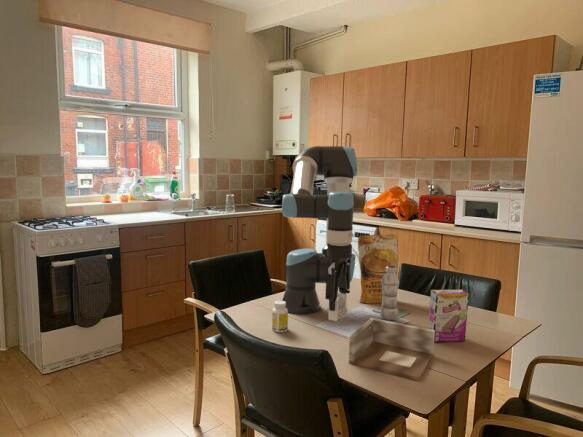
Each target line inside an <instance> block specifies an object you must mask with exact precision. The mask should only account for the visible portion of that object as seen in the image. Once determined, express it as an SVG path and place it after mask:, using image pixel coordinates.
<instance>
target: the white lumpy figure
mask: <svg viewBox="0 0 583 437" xmlns="http://www.w3.org/2000/svg"><path fill="white" fill-rule="evenodd" d="M337 300H338V319H342V318H345V317H346V316H347V313H348V307H347V306H346V307H345V306H344V303H345V301H344V300H343V298H342V297H341V294H339V295H338V294H337ZM327 311H328V315H329V306H328V307H327ZM328 315H327V316H328Z"/></svg>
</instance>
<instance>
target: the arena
mask: <svg viewBox="0 0 583 437" xmlns="http://www.w3.org/2000/svg"><path fill="white" fill-rule="evenodd" d="M434 338H435V330H431V329H428V328H424V327H420V326H415V325H409V324H404V323H400V322H395V321H389V320H384V319H379V318H374V317H370V318H369V319H368V320H367V321H365V323H363V324H362V325H361V326H360V327H358V329H356V330H355V331H354V332H353V333H351V335H350V336H349V342H348V345H349V347H348V364H351V365H355V366H359V367H362V368H367V369H370V370H375V371H378V372H382V373H387V374H390V375H394V376H398V377H402V378H405V379H410V380H413V381H417V382H419V381H420V380H421V378H422V376H423V375H424V373H425V371H426V370H427V369H428V366H429V364H430V363H431V360H432V359H433V358H434V355H435V354H434V351H435V342H434Z"/></svg>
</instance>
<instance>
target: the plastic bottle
mask: <svg viewBox="0 0 583 437" xmlns="http://www.w3.org/2000/svg"><path fill="white" fill-rule="evenodd" d="M385 271H386V273H385V274H384V276H383V277H382V280H381V283H382V294H383V295H382V303H381V304H380V305H381V306H380V310H379V313H380V314H379V316H380V317H381V320H385V321H390V322H394V321H396V320H397V319H398V315H399V308H398V293H399V292H398V291H399V286H400V279H399V277H398V274H397V275H396V274H395V272H396V267H395V266H386V270H385Z"/></svg>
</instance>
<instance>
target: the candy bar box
mask: <svg viewBox="0 0 583 437" xmlns="http://www.w3.org/2000/svg"><path fill="white" fill-rule="evenodd" d="M429 297H430V298H429V309H428V310H429V311H428V312H429V313H428V323H427V324H428V326H427V329H431V330H435V338H434V343H449V342H450V343H451V342H452V343H453V342H465V341H466V333H467V332H466V331H467V321H468V320H467V317H468V307H469V298H470V294H469V293H468V292H466V291H465V290H464V289H431V290H430V296H429Z"/></svg>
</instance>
